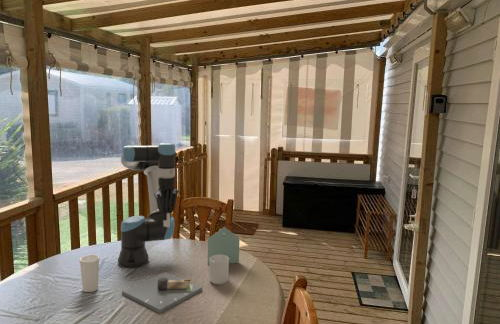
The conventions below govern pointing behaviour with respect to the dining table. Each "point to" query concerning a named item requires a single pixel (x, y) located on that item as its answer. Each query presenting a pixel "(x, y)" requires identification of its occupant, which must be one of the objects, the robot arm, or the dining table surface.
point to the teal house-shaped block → (224, 245)
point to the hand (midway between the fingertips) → (166, 226)
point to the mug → (219, 269)
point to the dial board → (160, 293)
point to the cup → (89, 272)
